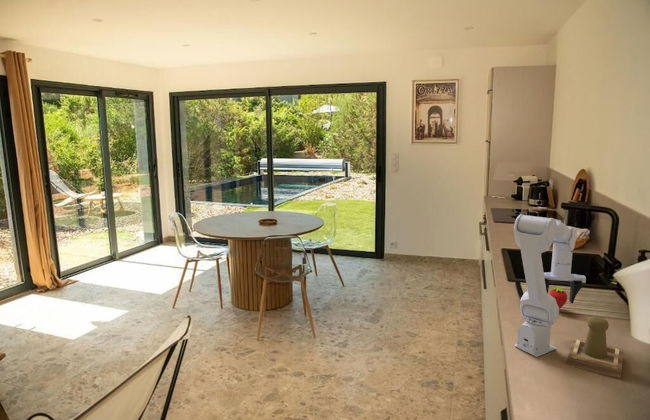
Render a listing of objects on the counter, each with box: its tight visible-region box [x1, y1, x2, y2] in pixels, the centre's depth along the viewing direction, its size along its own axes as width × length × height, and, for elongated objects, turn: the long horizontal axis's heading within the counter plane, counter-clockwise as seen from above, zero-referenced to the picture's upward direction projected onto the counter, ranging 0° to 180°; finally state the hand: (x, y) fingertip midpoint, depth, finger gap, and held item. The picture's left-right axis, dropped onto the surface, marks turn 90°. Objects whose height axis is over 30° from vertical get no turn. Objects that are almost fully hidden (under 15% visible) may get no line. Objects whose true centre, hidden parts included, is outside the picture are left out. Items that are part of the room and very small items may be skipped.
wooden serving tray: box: [566, 339, 624, 379], centre depth 128 cm, size 13×13×3 cm
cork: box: [583, 316, 609, 359], centre depth 128 cm, size 6×6×11 cm
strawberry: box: [548, 286, 568, 310], centre depth 164 cm, size 6×8×10 cm
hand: (558, 301), depth 146 cm, fingers open, 7 cm apart
